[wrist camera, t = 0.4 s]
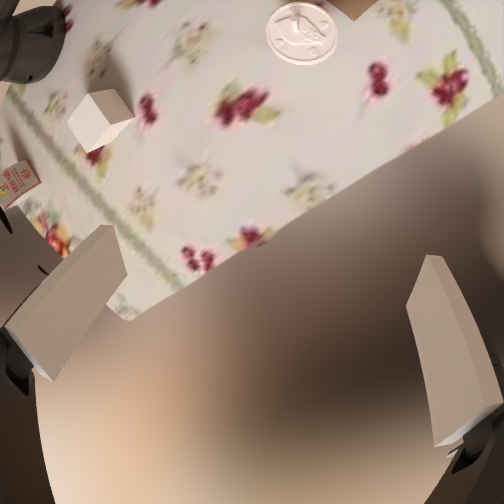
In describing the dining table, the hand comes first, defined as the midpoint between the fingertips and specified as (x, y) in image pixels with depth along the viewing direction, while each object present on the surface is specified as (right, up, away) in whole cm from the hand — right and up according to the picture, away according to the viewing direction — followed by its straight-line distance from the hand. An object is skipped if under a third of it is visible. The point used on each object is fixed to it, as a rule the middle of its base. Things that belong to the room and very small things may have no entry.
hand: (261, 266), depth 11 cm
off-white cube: (-21, +21, +24) cm, 38 cm away
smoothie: (+6, +24, +15) cm, 29 cm away
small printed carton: (-45, +16, +32) cm, 58 cm away
